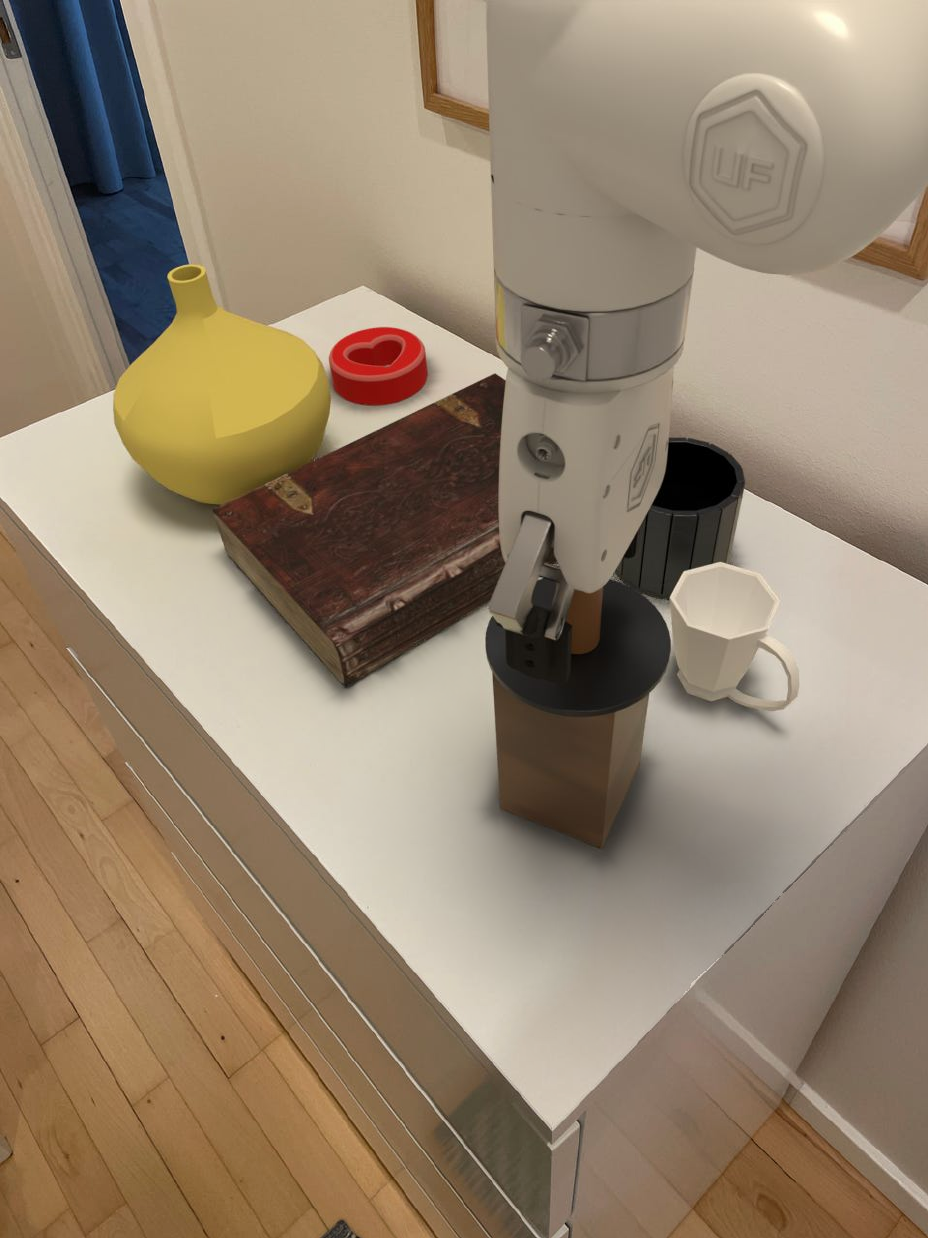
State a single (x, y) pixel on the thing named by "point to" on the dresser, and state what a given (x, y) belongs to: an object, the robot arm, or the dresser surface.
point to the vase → (220, 399)
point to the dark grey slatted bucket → (687, 518)
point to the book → (381, 533)
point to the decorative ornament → (378, 366)
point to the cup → (725, 633)
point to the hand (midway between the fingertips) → (575, 607)
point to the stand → (566, 764)
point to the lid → (593, 653)
